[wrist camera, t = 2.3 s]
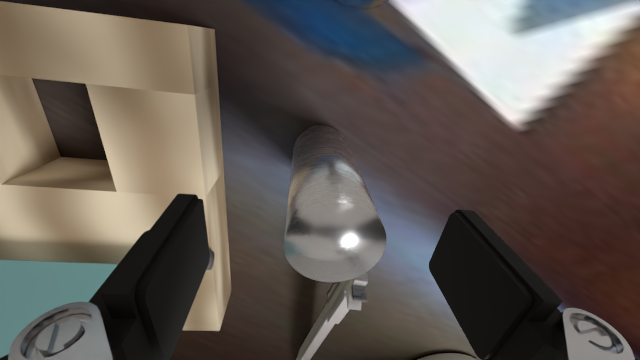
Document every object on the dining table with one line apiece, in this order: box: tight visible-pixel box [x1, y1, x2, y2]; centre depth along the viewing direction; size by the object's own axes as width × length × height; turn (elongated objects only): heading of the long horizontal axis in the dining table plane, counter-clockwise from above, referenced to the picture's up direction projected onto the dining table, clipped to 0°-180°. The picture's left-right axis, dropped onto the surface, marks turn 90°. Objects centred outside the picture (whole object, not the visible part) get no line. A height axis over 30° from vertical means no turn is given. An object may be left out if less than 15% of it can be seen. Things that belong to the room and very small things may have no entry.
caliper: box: [296, 272, 368, 360], centre depth 24 cm, size 20×1×6 cm, turn 165°
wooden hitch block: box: [0, 1, 231, 331], centre depth 17 cm, size 16×22×5 cm
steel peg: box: [284, 125, 386, 282], centre depth 15 cm, size 4×4×10 cm
